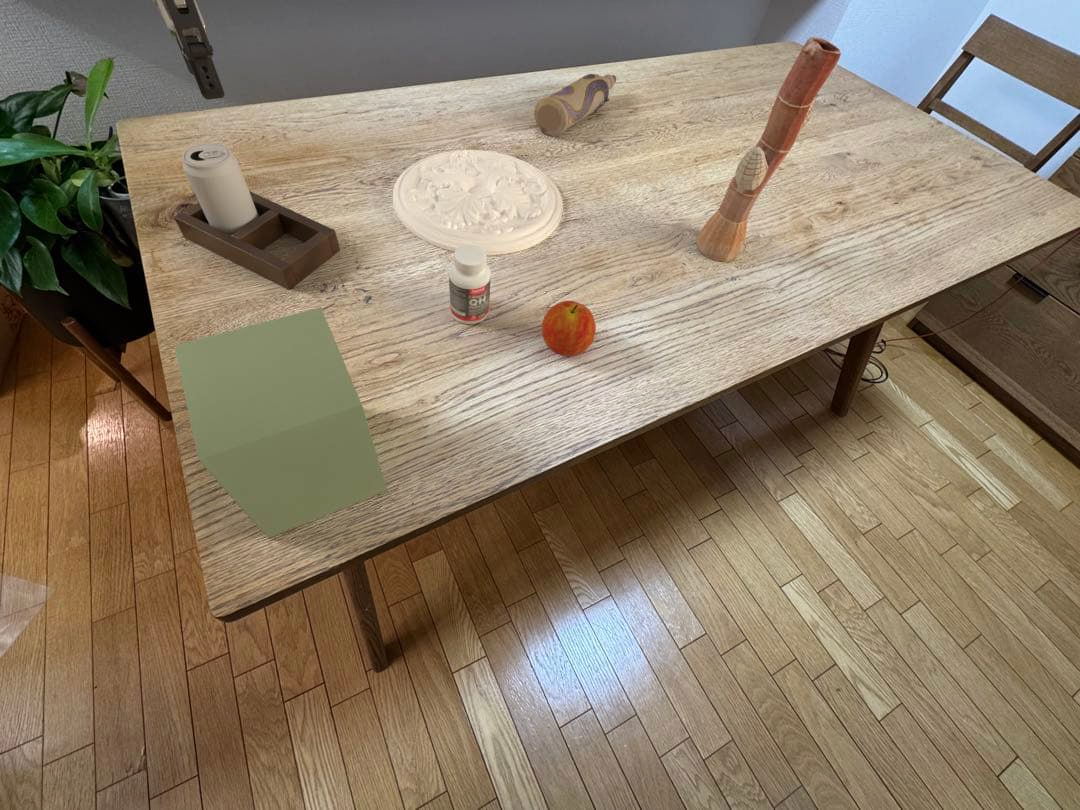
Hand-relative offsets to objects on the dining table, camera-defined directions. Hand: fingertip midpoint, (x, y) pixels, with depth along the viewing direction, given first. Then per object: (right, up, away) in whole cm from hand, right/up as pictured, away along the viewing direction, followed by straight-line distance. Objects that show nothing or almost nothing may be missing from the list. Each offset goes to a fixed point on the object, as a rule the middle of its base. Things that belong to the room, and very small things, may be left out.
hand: (207, 85), depth 59 cm
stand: (+14, -43, -4) cm, 46 cm away
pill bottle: (+28, -24, +12) cm, 39 cm away
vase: (+69, -10, +27) cm, 75 cm away
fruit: (+41, -29, +10) cm, 52 cm away
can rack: (-2, -13, +15) cm, 20 cm away
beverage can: (-6, -12, +16) cm, 21 cm away
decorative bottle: (+47, +23, +48) cm, 71 cm away
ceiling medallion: (+28, -3, +27) cm, 39 cm away
